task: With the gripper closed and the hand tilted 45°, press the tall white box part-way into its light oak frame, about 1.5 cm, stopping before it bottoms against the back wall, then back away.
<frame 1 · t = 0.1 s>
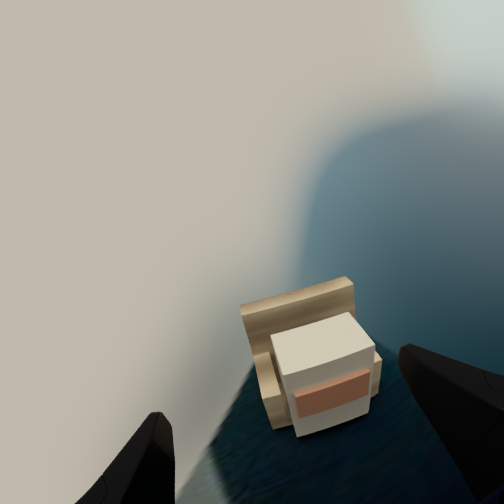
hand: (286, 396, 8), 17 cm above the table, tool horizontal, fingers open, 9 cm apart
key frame: (317, 394, 26), on the table
white box: (324, 380, 21), point 6 cm above the table, slide at 0.0 cm
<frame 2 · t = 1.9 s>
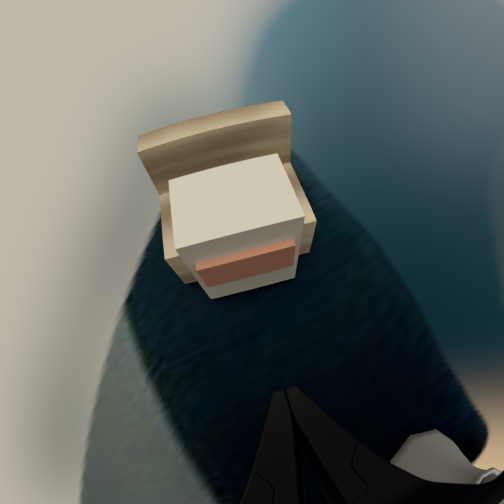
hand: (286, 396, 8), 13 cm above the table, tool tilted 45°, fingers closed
flask: (418, 463, 15), on the table
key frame: (239, 239, 26), on the table
white box: (240, 237, 19), point 6 cm above the table, slide at 0.0 cm
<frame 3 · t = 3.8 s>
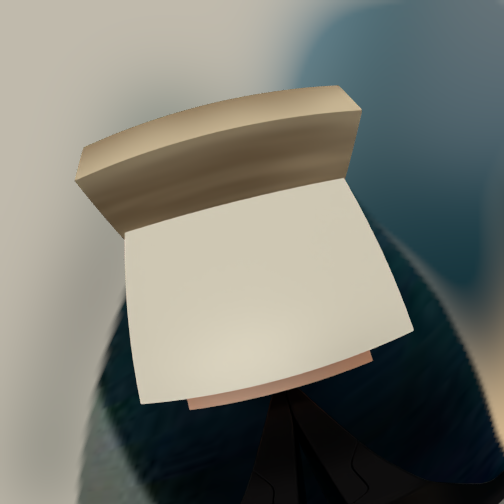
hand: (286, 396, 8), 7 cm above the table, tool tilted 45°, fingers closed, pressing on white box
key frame: (256, 301, 17), on the table
white box: (263, 324, 11), point 6 cm above the table, slide at 0.4 cm, touching gripper
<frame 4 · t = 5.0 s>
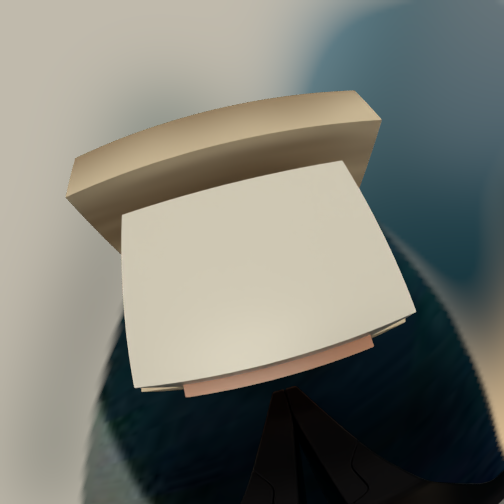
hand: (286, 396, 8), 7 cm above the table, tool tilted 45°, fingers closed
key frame: (261, 315, 16), on the table
white box: (262, 311, 11), point 6 cm above the table, slide at 2.0 cm
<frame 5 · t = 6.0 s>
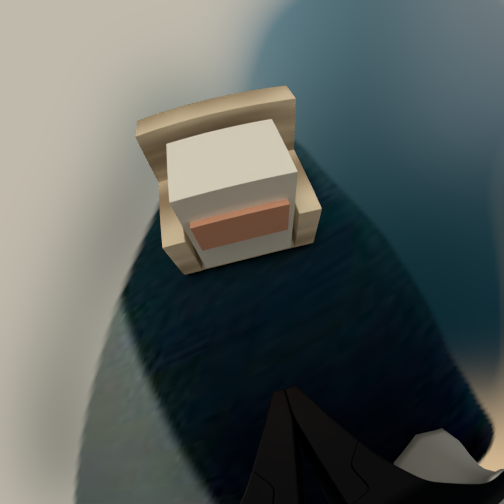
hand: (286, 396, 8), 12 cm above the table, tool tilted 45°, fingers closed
flask: (423, 464, 14), on the table
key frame: (241, 229, 25), on the table
white box: (235, 201, 19), point 6 cm above the table, slide at 2.0 cm
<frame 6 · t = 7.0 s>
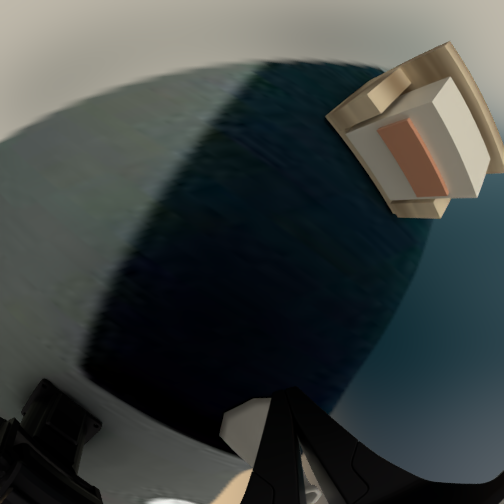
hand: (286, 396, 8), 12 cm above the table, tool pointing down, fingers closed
flask: (256, 422, 22), on the table
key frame: (378, 148, 22), on the table
white box: (420, 144, 16), point 6 cm above the table, slide at 2.0 cm
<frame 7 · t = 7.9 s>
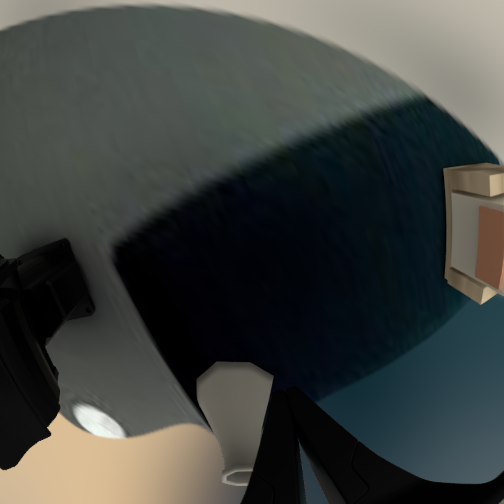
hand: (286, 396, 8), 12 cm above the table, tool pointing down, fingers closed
flask: (233, 385, 23), on the table
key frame: (464, 220, 21), on the table
white box: (499, 238, 15), point 6 cm above the table, slide at 2.0 cm
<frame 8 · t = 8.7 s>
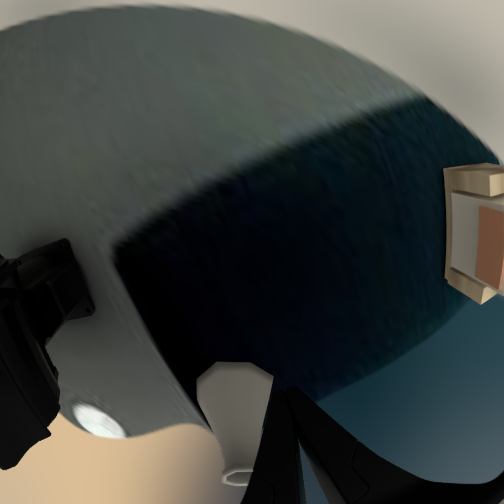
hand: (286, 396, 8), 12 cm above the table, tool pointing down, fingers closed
flask: (233, 385, 23), on the table
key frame: (464, 220, 21), on the table
white box: (499, 238, 15), point 6 cm above the table, slide at 2.0 cm
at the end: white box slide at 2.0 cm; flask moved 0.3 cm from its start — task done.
